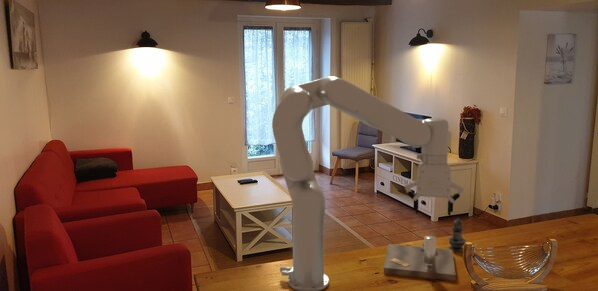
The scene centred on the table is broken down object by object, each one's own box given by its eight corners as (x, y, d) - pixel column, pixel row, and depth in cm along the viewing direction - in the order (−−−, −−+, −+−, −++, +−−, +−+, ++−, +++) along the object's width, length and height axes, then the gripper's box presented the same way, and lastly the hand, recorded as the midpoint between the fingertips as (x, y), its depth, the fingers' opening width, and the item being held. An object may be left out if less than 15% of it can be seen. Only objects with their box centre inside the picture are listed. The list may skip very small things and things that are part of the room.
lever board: (383, 273, 152) (383, 265, 152) (388, 248, 172) (388, 242, 171) (455, 280, 147) (455, 273, 146) (451, 254, 166) (451, 247, 166)
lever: (422, 243, 168) (423, 218, 166) (434, 244, 167) (435, 219, 165) (422, 267, 149) (423, 239, 147) (435, 268, 148) (437, 240, 146)
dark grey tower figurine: (462, 246, 174) (464, 214, 171) (466, 252, 168) (468, 220, 166) (446, 245, 174) (448, 214, 172) (449, 252, 168) (451, 220, 166)
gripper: (404, 160, 142) (403, 215, 145) (465, 162, 138) (463, 218, 141) (405, 155, 149) (404, 207, 153) (463, 157, 145) (461, 210, 148)
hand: (432, 212), depth 147 cm, fingers open, 9 cm apart
